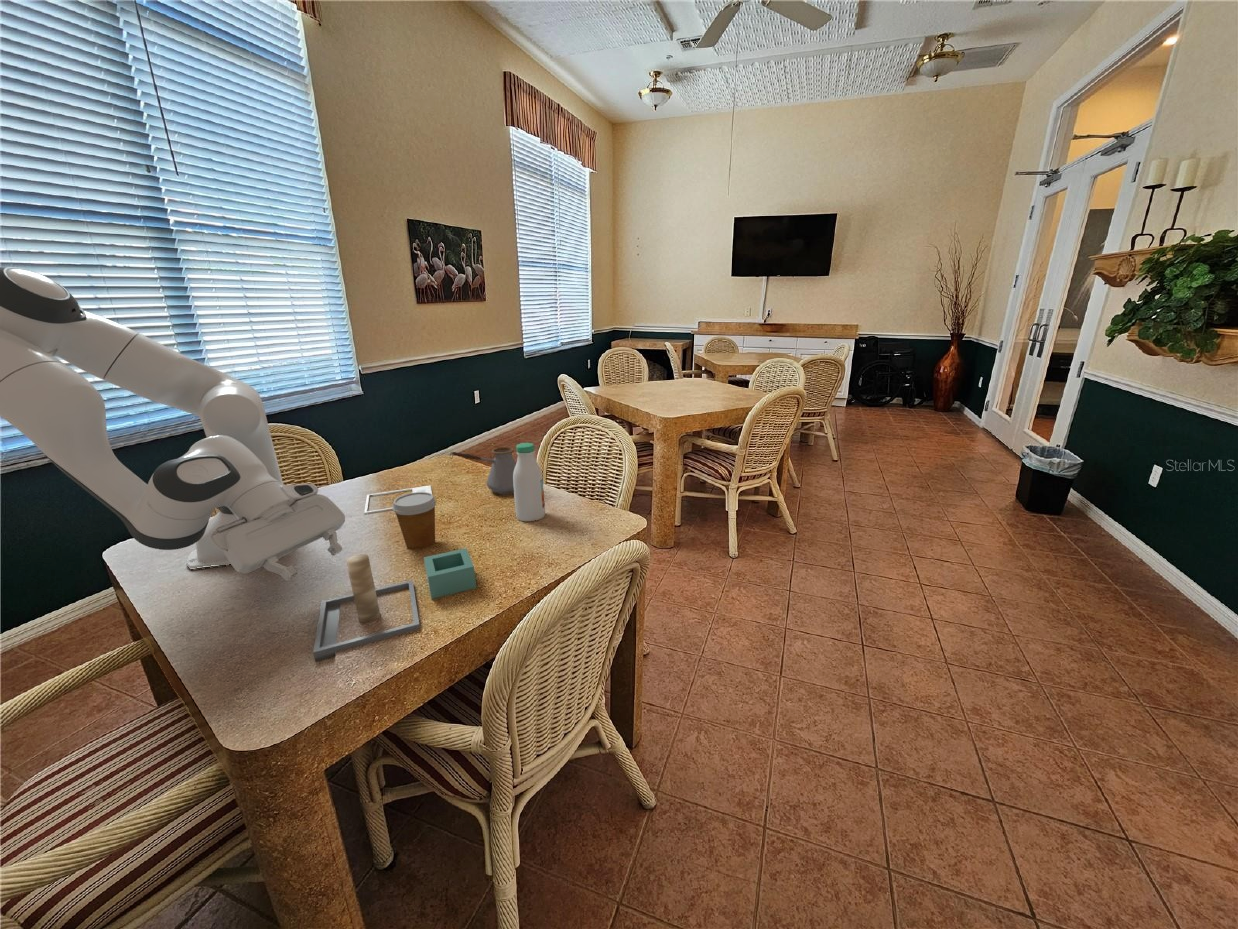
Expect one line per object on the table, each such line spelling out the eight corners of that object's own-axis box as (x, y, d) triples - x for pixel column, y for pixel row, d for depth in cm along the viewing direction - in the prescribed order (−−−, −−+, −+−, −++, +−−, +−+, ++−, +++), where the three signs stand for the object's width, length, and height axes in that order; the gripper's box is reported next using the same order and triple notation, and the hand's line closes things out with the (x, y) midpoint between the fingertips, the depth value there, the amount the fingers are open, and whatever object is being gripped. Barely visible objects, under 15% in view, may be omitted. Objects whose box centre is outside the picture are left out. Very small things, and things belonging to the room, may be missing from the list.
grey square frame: (315, 661, 80) (313, 652, 79) (323, 609, 93) (321, 601, 93) (420, 632, 86) (419, 624, 85) (413, 587, 100) (412, 580, 99)
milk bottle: (540, 523, 128) (534, 449, 122) (512, 521, 129) (505, 448, 123) (549, 511, 135) (544, 441, 129) (522, 509, 136) (515, 440, 130)
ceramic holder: (432, 602, 95) (427, 577, 93) (427, 581, 102) (423, 557, 100) (477, 591, 98) (473, 566, 96) (469, 571, 105) (466, 548, 104)
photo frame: (433, 501, 142) (364, 512, 135) (433, 504, 142) (364, 515, 136) (430, 484, 155) (366, 494, 148) (430, 488, 155) (367, 497, 148)
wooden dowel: (358, 625, 87) (345, 566, 83) (359, 615, 90) (346, 557, 86) (380, 620, 89) (368, 561, 85) (380, 610, 92) (368, 552, 88)
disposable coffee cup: (428, 556, 112) (420, 508, 108) (391, 553, 114) (382, 505, 110) (449, 537, 121) (443, 492, 117) (415, 535, 123) (407, 490, 119)
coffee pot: (516, 480, 159) (512, 435, 154) (531, 491, 150) (527, 443, 145) (449, 495, 147) (443, 447, 143) (462, 508, 138) (455, 457, 134)
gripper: (210, 522, 81) (266, 584, 80) (321, 481, 99) (367, 532, 98) (200, 542, 83) (254, 603, 83) (310, 499, 102) (354, 548, 101)
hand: (316, 564), depth 91 cm, fingers open, 8 cm apart
